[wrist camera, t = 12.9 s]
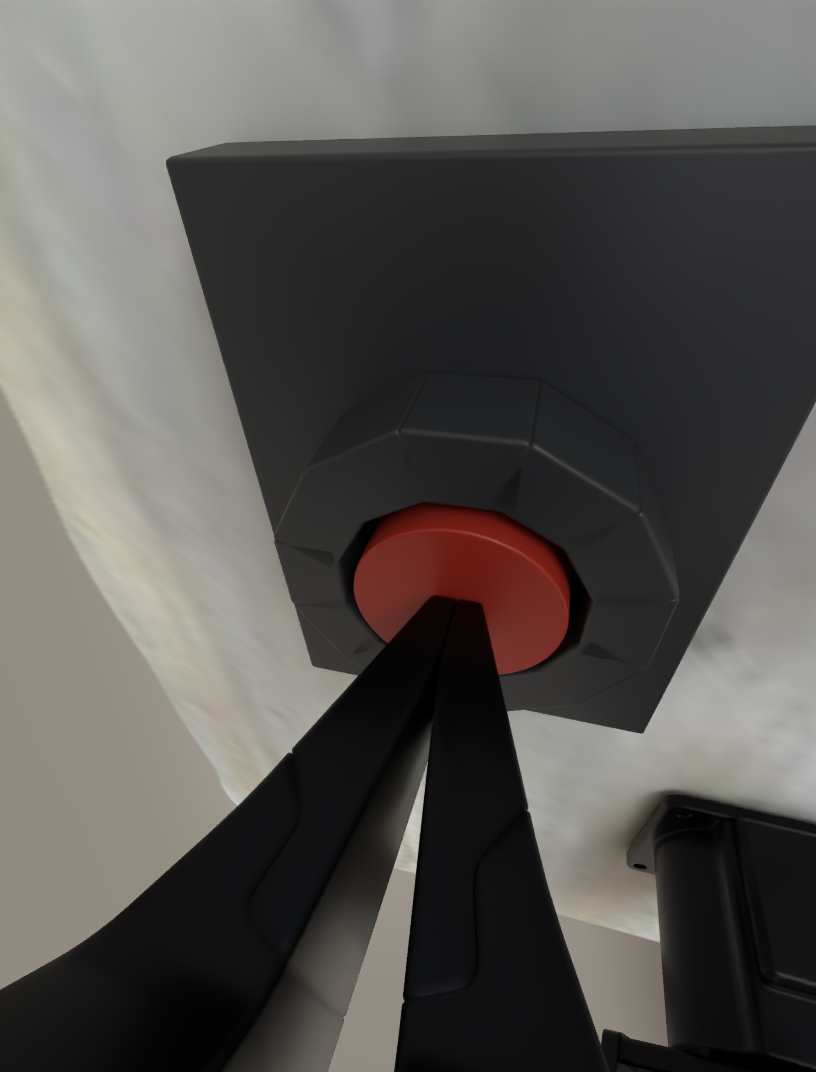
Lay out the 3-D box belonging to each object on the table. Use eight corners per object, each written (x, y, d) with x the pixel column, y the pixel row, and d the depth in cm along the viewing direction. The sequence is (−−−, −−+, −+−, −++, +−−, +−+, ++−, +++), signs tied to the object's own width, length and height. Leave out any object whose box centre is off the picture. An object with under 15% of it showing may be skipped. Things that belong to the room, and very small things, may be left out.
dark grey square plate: (639, 677, 14) (648, 809, 12) (332, 621, 16) (285, 724, 14) (887, 123, 6) (1078, 169, 4) (224, 141, 8) (66, 182, 6)
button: (556, 618, 11) (551, 692, 10) (388, 590, 12) (363, 656, 10) (589, 475, 8) (588, 549, 7) (374, 452, 9) (338, 515, 8)
